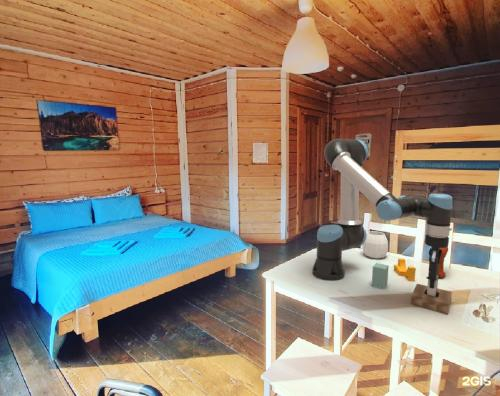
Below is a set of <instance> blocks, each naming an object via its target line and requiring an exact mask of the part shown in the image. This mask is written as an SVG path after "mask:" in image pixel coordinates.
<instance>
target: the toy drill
mask: <svg viewBox="0 0 500 396" xmlns="http://www.w3.org/2000/svg"><path fill="white" fill-rule="evenodd" d="M440 249H441V250H442V255H441V260H440V263H439V273H438V275H440V277H439V278H442V279H443V278H445V277H446V273H445V272H444V263H445V258H446V256H447V254H448V252H449V246H448V247H446V248H440Z"/></svg>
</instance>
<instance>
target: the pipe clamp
mask: <svg viewBox="0 0 500 396" xmlns="http://www.w3.org/2000/svg"><path fill="white" fill-rule="evenodd" d="M416 269H417V267H415V266H407V263H406V259H405V258H398V259H397V264H393V272H394V273H396V274H397V275H398V276H400V277H404V279H406V280H407V281H408V282H415V281H416V280H415V279H416Z"/></svg>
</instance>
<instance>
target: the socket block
mask: <svg viewBox="0 0 500 396" xmlns="http://www.w3.org/2000/svg"><path fill="white" fill-rule="evenodd" d="M427 287H428V285H424V284H421V283H416V284H415V287H414V289H413V291H412V293H411V297H410V305H411V306H415V307H419V308H423V309H426V310H430V311H433V312H436V313H437V312H438V313H440V314H443V315H444V314H445V315H449V311H450V307H451V303H452V293H453V292H452V291H451V290H447V289H446V290H445V289H442V288H438V287H437V297H435V296H431V295H427Z"/></svg>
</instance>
